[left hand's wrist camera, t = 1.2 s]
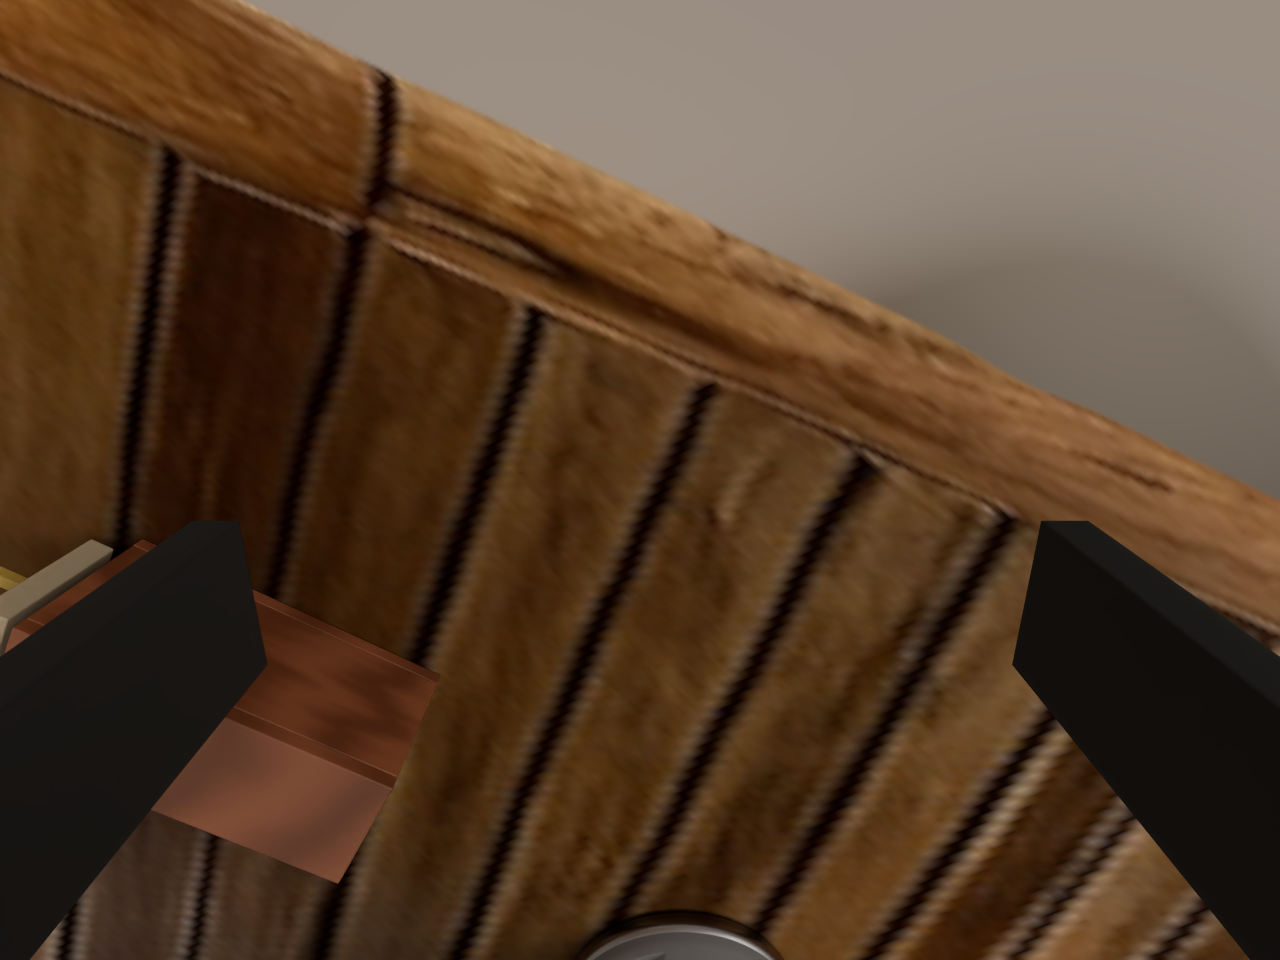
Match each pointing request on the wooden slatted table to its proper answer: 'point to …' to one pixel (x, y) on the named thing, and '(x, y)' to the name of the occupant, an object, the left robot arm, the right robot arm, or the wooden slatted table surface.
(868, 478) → the wooden slatted table surface
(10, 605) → the drawer
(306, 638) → the cabinet
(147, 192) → the wooden slatted table surface
